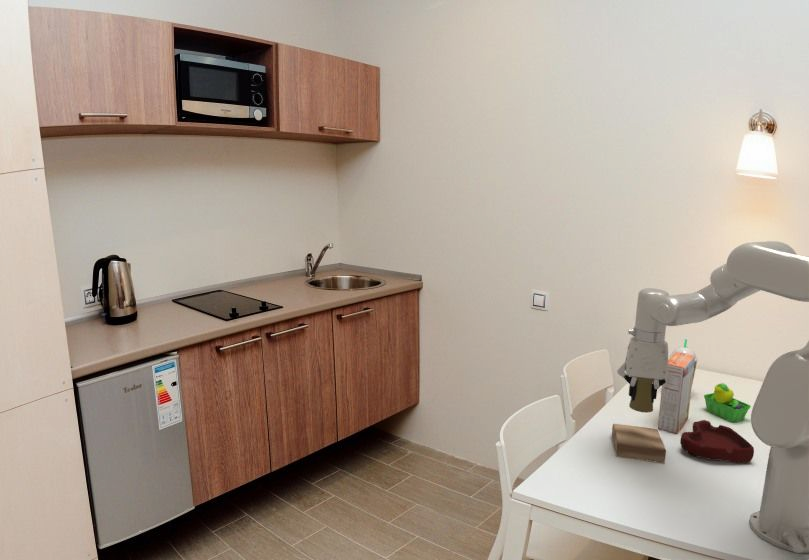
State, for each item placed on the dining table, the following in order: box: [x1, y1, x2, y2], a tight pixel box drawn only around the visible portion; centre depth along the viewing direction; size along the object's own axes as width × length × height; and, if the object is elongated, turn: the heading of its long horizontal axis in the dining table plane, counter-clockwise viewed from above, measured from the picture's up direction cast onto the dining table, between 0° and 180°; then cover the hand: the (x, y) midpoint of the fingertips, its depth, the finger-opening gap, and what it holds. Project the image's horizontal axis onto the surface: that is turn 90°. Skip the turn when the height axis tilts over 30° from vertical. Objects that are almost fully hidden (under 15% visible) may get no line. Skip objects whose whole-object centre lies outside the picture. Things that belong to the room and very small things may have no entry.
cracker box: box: [657, 352, 695, 435], centre depth 163 cm, size 14×6×21 cm, turn 141°
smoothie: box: [669, 338, 699, 390], centre depth 185 cm, size 8×8×20 cm
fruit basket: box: [703, 382, 752, 423], centre depth 171 cm, size 11×9×11 cm
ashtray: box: [679, 419, 755, 464], centre depth 148 cm, size 18×16×5 cm
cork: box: [628, 378, 654, 414], centre depth 146 cm, size 6×6×11 cm
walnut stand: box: [611, 423, 667, 464], centre depth 149 cm, size 12×12×4 cm
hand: (641, 399), depth 147 cm, fingers closed on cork, 4 cm apart
